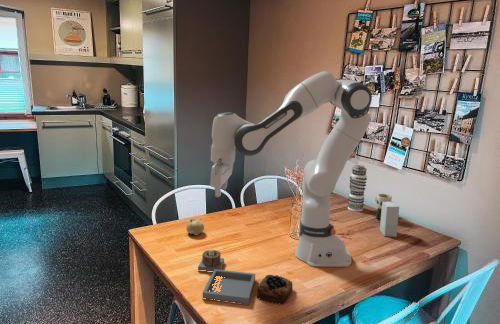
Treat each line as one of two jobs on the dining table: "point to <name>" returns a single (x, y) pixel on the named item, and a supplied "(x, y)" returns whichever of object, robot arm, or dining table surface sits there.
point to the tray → (231, 286)
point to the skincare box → (389, 219)
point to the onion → (195, 226)
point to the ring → (211, 258)
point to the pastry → (274, 289)
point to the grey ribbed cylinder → (357, 188)
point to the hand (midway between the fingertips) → (221, 192)
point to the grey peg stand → (207, 268)
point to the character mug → (379, 200)
